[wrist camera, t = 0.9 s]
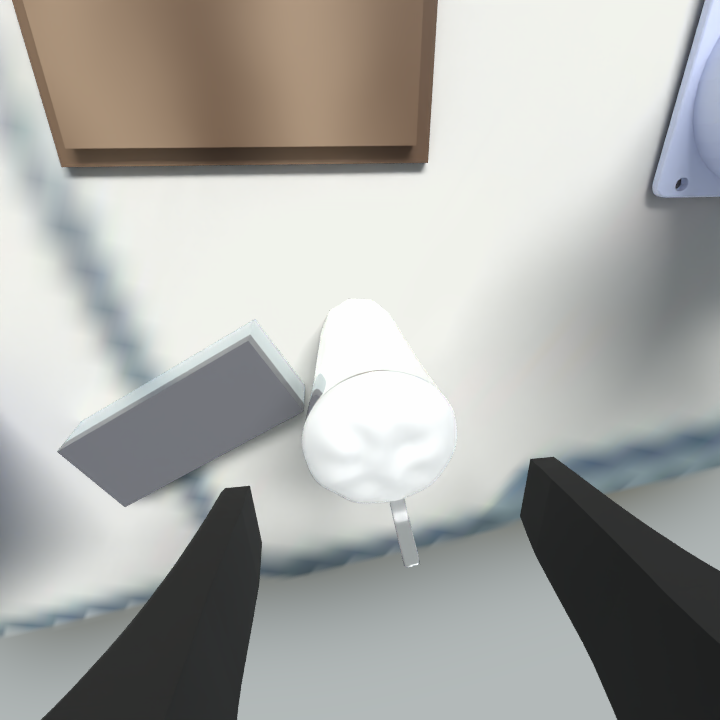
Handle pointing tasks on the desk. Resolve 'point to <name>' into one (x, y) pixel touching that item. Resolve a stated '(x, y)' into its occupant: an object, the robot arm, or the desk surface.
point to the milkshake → (375, 416)
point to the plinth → (233, 80)
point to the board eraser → (187, 416)
